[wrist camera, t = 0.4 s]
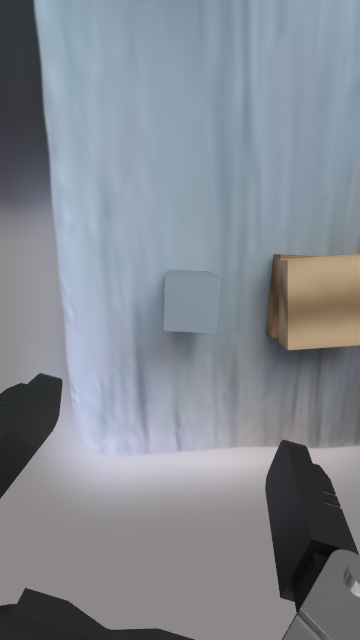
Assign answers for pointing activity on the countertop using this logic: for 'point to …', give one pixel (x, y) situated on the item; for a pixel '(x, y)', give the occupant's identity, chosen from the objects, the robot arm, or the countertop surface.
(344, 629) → the robot arm
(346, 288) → the tower top
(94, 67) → the countertop surface
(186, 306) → the pillar
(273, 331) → the tower base
